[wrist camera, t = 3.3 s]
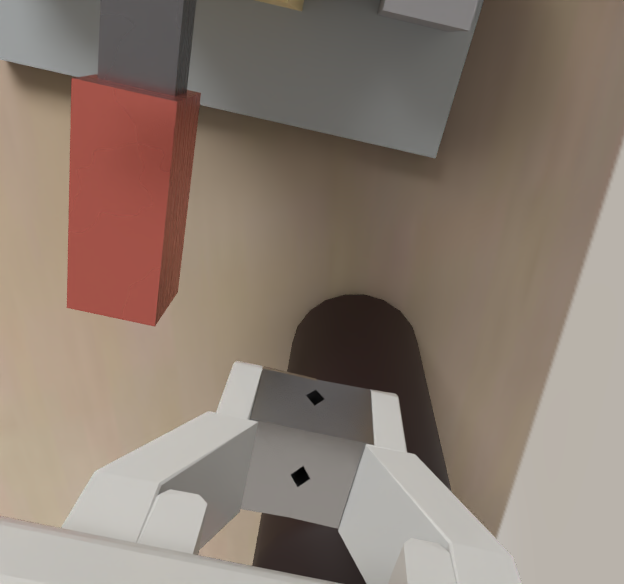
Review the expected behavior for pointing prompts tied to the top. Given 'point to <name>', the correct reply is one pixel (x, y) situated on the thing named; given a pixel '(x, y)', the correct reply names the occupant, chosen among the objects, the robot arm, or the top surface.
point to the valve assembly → (290, 60)
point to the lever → (132, 161)
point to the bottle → (364, 374)
